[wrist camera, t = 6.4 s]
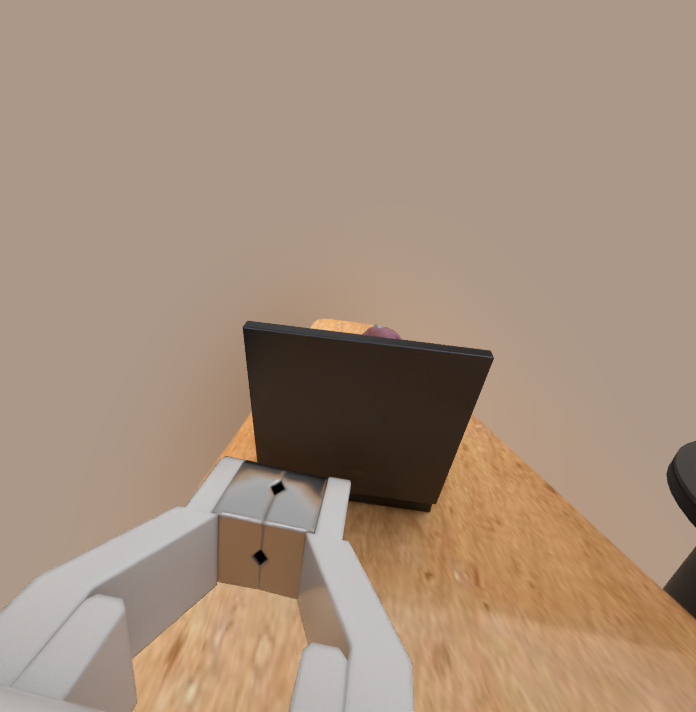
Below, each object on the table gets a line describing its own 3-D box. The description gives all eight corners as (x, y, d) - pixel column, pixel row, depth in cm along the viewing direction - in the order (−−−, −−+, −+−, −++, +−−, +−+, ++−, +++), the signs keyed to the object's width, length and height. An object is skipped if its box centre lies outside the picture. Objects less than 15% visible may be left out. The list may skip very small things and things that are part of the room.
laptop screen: (247, 319, 20) (241, 326, 19) (490, 348, 19) (494, 358, 19) (262, 470, 28) (258, 480, 27) (434, 494, 27) (436, 504, 27)
